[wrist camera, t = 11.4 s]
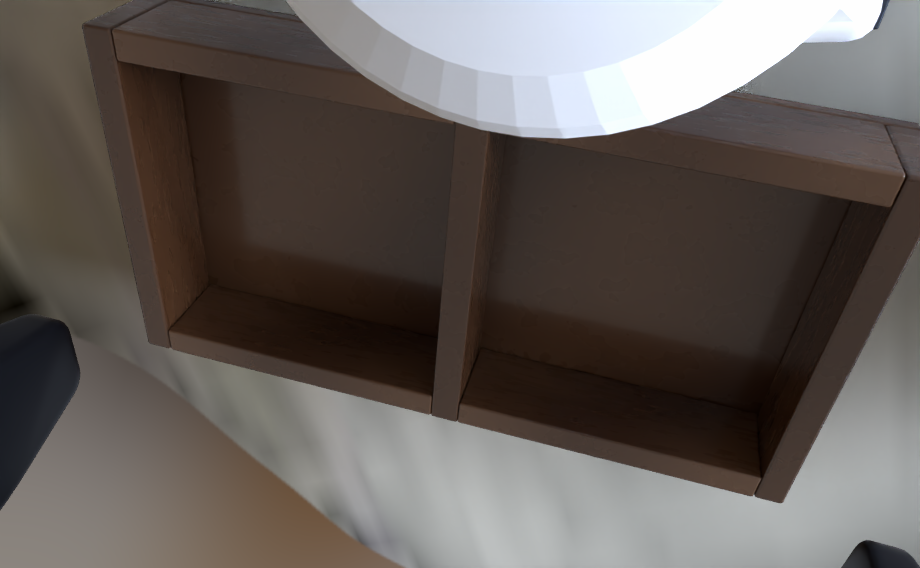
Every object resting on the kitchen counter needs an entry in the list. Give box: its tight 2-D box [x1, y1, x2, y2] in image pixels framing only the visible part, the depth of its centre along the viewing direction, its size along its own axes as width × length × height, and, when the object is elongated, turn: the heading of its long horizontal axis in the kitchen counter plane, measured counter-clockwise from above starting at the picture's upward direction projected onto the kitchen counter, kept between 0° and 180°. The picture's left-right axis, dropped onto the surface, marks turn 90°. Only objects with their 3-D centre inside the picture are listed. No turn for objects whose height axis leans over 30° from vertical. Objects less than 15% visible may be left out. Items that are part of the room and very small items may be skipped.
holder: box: [82, 0, 920, 503], centre depth 21 cm, size 19×10×3 cm, turn 86°
